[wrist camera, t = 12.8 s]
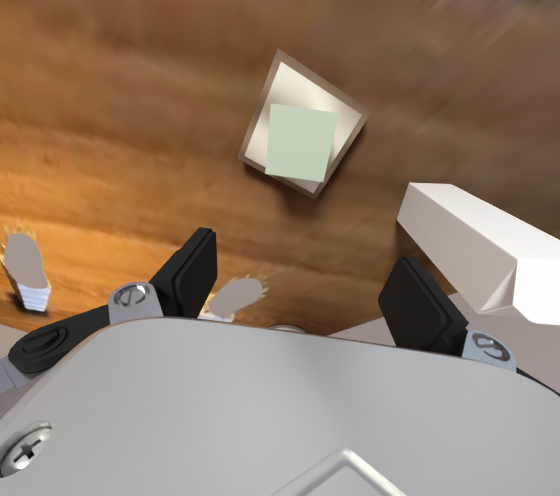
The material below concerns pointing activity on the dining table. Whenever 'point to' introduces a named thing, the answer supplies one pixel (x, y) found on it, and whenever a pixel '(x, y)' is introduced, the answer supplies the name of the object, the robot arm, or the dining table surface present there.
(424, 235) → the milk
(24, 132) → the dining table surface
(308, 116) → the block
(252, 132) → the plinth
